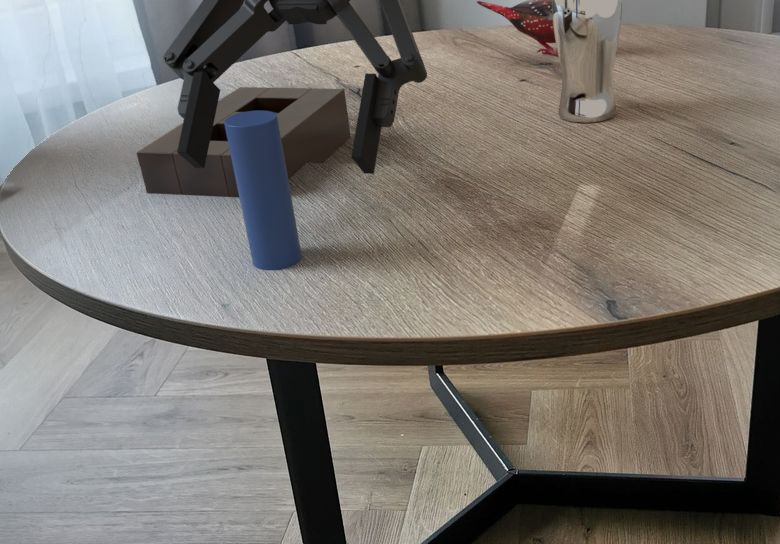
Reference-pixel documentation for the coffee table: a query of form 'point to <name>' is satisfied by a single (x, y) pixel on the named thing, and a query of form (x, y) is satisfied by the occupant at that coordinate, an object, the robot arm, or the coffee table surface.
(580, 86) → the beer glass
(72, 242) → the coffee table surface
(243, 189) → the blue peg
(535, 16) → the decorative bird figurine
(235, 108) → the peg rack
